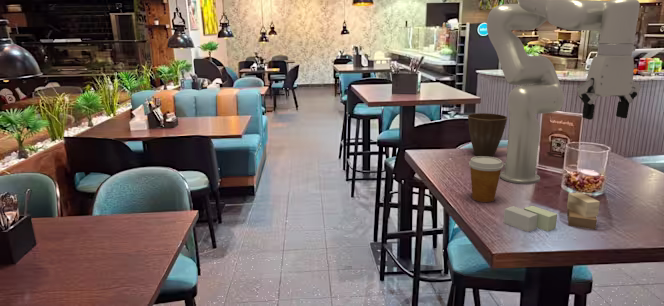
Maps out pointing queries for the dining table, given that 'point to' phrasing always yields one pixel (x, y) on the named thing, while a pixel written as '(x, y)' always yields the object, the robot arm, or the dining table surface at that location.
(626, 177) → the dining table surface
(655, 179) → the dining table surface
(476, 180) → the disposable coffee cup
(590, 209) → the beech brick
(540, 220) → the sage brick
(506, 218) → the grey brick
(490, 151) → the plant pot
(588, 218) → the walnut base
